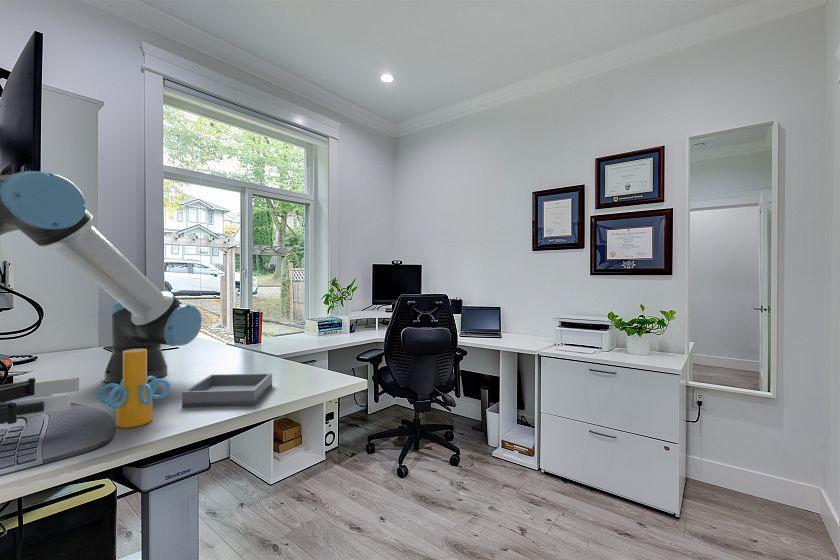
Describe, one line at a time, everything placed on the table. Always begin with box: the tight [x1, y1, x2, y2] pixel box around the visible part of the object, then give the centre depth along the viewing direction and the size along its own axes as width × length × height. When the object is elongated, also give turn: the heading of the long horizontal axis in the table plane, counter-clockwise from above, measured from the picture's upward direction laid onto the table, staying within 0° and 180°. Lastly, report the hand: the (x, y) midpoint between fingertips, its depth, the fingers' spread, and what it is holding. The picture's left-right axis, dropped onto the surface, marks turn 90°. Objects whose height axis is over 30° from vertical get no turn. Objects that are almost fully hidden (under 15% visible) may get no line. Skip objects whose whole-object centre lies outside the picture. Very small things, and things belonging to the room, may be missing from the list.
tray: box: [181, 373, 273, 408], centre depth 98 cm, size 16×16×4 cm
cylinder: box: [96, 349, 171, 429], centre depth 80 cm, size 12×10×15 cm
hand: (75, 392), depth 74 cm, fingers open, 13 cm apart
